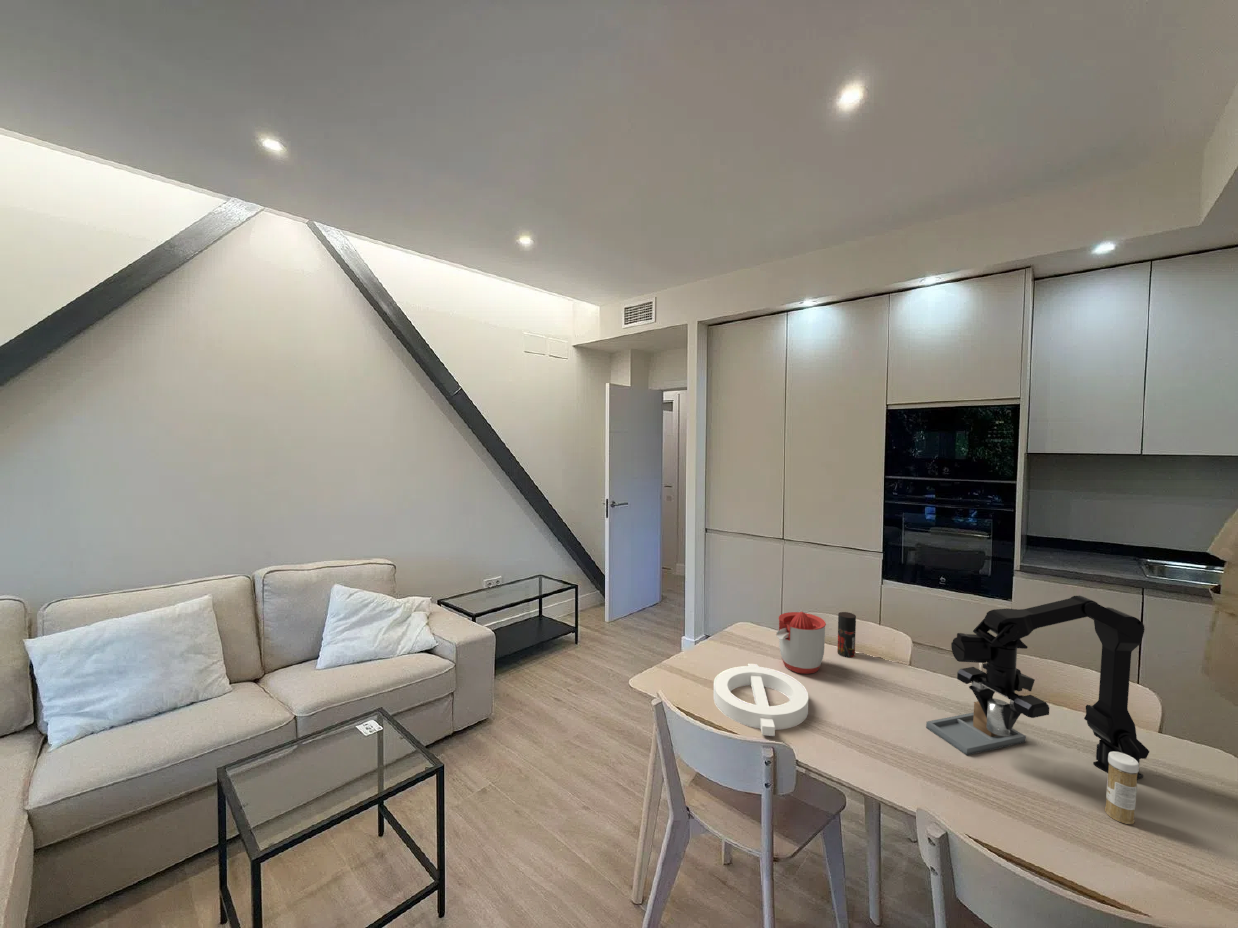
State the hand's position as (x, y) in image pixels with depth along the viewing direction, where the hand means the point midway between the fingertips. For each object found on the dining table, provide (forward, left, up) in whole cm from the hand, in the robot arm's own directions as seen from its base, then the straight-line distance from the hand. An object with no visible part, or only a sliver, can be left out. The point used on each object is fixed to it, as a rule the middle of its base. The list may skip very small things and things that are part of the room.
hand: (998, 723), depth 120 cm
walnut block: (+10, -10, -10) cm, 17 cm away
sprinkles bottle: (-20, -8, -10) cm, 24 cm away
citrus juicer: (+56, +18, -10) cm, 60 cm away
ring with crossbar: (+40, +43, -11) cm, 60 cm away
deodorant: (+60, -5, -10) cm, 61 cm away
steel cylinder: (0, 0, -2) cm, 2 cm away
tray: (+10, -5, -10) cm, 15 cm away
